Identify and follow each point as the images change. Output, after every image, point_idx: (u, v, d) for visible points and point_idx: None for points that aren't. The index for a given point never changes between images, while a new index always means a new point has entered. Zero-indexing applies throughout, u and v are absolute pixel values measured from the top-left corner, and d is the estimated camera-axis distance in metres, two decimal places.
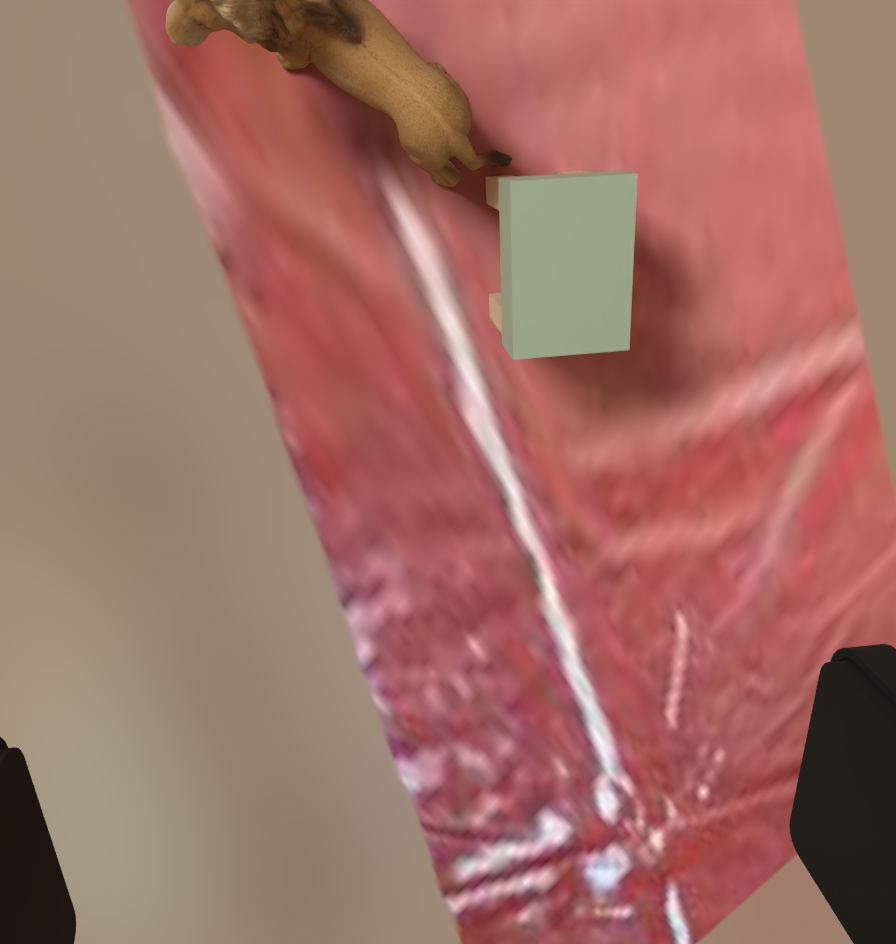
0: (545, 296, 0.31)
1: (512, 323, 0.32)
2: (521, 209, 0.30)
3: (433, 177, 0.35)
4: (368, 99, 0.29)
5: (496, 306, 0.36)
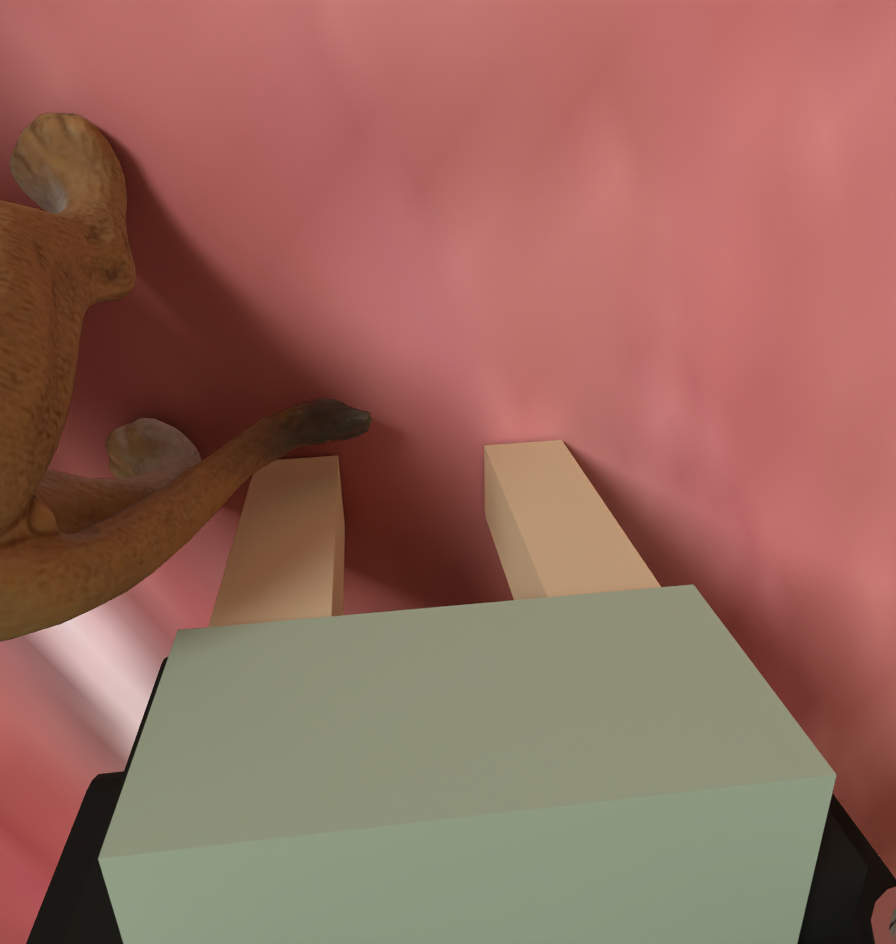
0: None
1: None
2: None
3: (117, 479, 0.11)
4: None
5: None
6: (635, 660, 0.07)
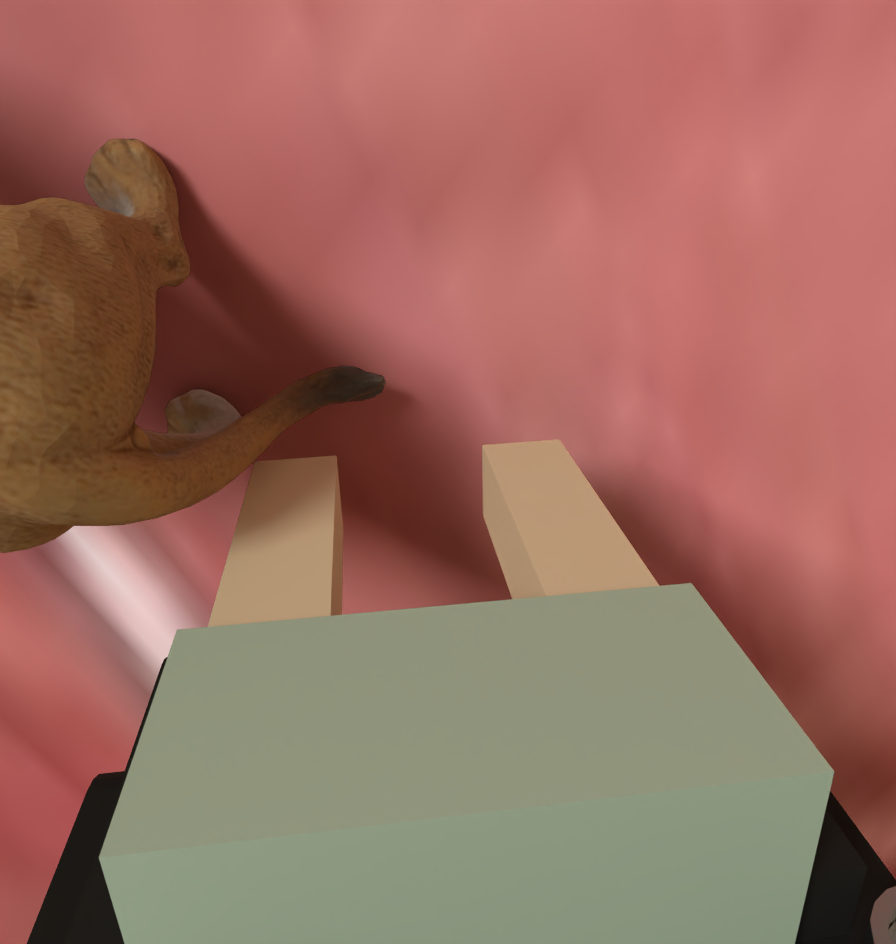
0: None
1: None
2: None
3: None
4: None
5: None
6: (633, 658, 0.07)
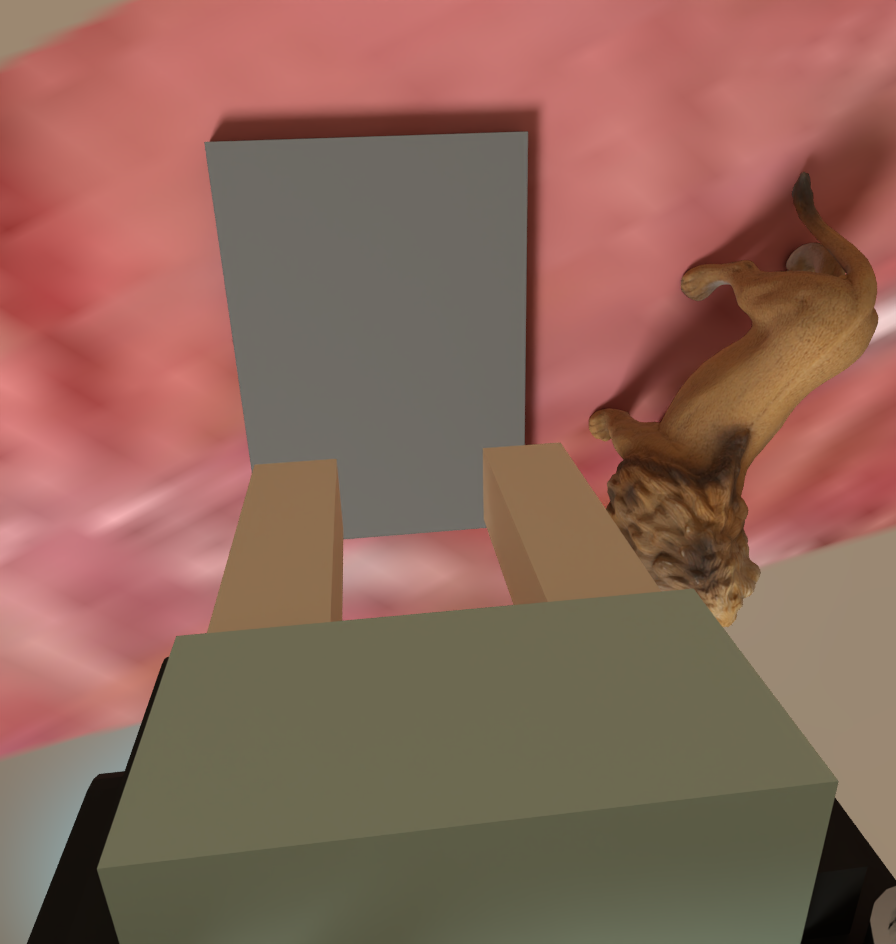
0: None
1: None
2: None
3: None
4: None
5: None
6: (636, 666, 0.07)
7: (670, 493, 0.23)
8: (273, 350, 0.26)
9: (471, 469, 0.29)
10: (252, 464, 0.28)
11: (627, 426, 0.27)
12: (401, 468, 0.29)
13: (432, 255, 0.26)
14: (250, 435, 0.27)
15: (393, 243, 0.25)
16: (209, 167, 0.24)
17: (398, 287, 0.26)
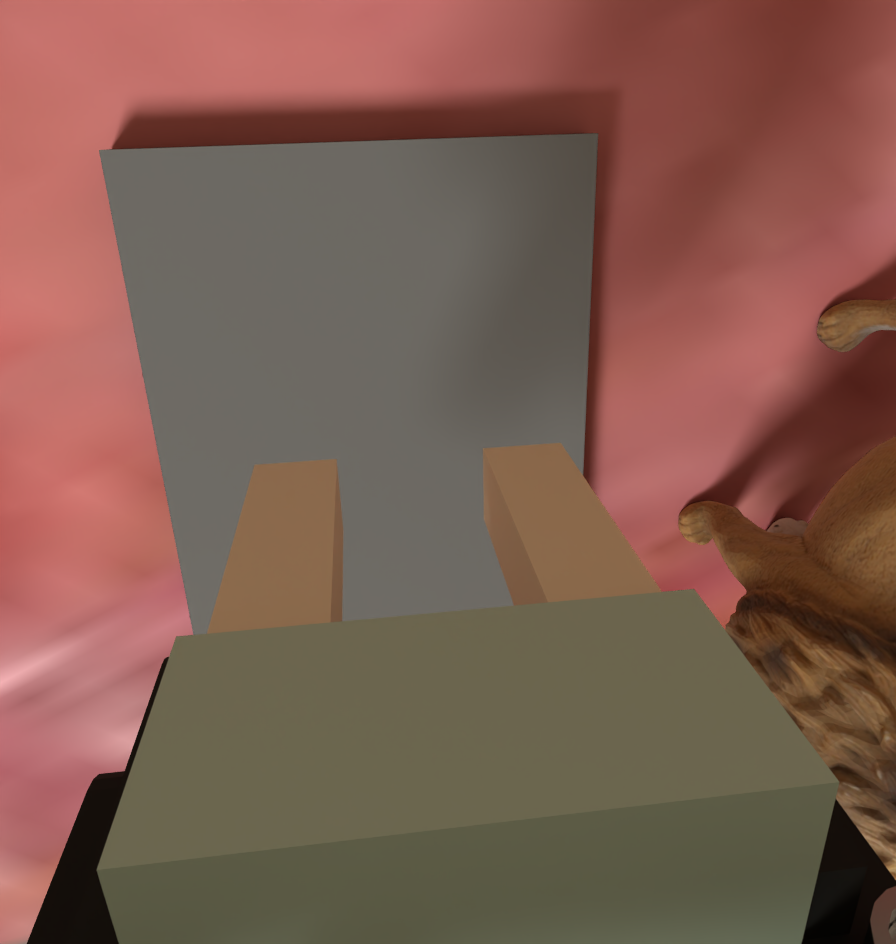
0: None
1: None
2: None
3: None
4: None
5: None
6: (636, 666, 0.07)
7: (850, 671, 0.15)
8: (217, 456, 0.18)
9: None
10: (191, 612, 0.19)
11: (749, 538, 0.19)
12: (405, 610, 0.20)
13: (452, 317, 0.17)
14: (187, 573, 0.19)
15: (394, 300, 0.17)
16: (109, 189, 0.15)
17: (401, 363, 0.18)
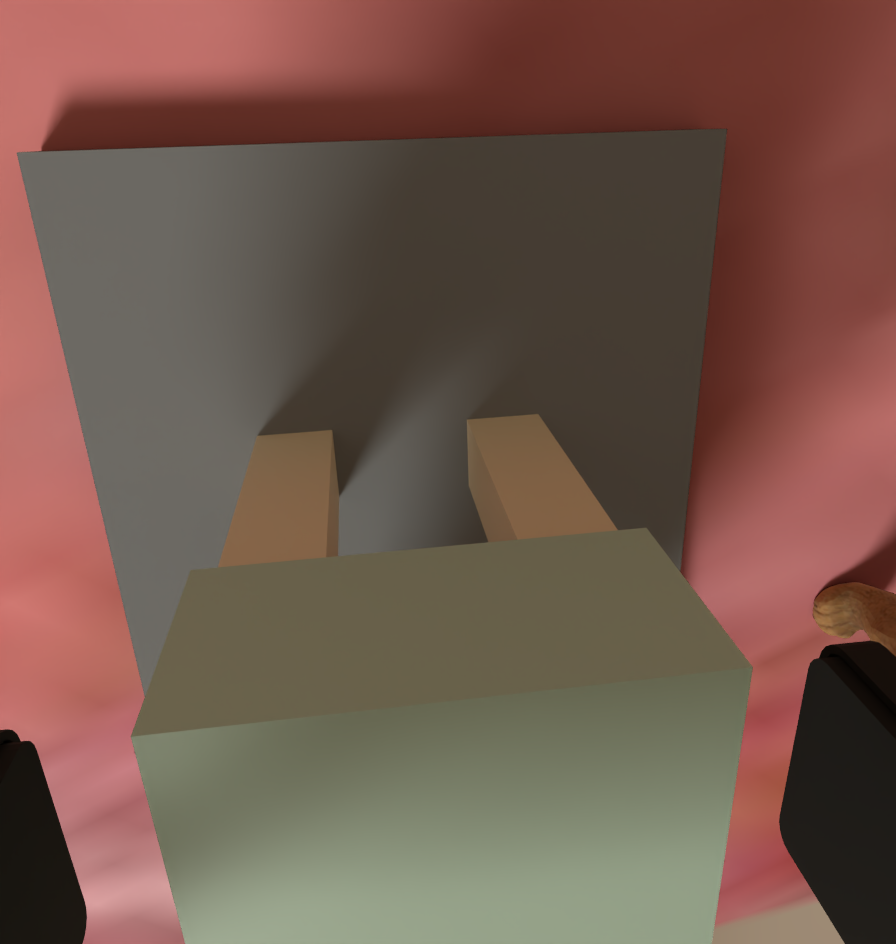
0: None
1: None
2: (209, 828, 0.06)
3: None
4: None
5: None
6: (590, 586, 0.08)
7: None
8: (193, 565, 0.13)
9: None
10: None
11: None
12: None
13: (514, 381, 0.13)
14: None
15: (435, 360, 0.12)
16: (33, 208, 0.11)
17: (443, 442, 0.13)
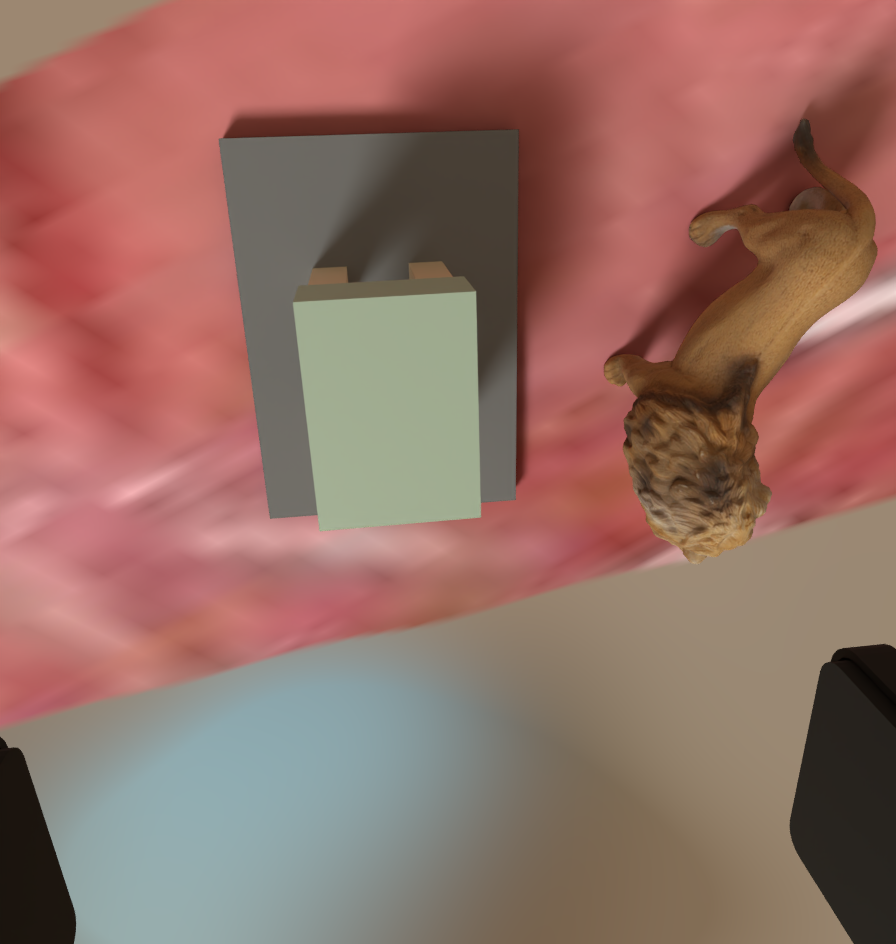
0: (357, 451, 0.23)
1: (314, 485, 0.23)
2: (312, 339, 0.21)
3: None
4: (798, 339, 0.25)
5: None
6: (435, 283, 0.23)
7: (684, 421, 0.25)
8: (281, 333, 0.28)
9: None
10: (261, 441, 0.30)
11: (641, 367, 0.28)
12: None
13: (429, 244, 0.27)
14: (259, 413, 0.29)
15: (393, 233, 0.27)
16: (223, 162, 0.26)
17: (397, 274, 0.28)
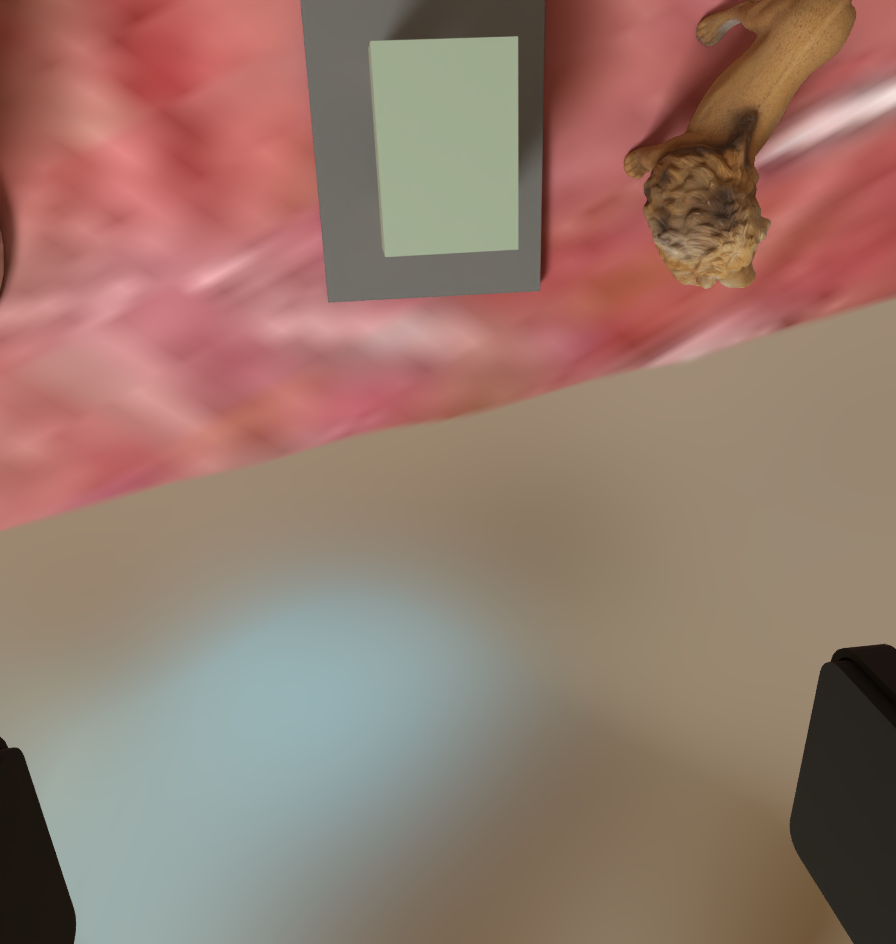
0: (418, 182, 0.28)
1: (382, 213, 0.28)
2: (385, 75, 0.26)
3: None
4: (791, 99, 0.30)
5: None
6: None
7: (697, 163, 0.29)
8: (342, 125, 0.33)
9: None
10: (322, 227, 0.34)
11: (657, 145, 0.33)
12: None
13: None
14: (321, 201, 0.34)
15: (439, 34, 0.32)
16: None
17: None
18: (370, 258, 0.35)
